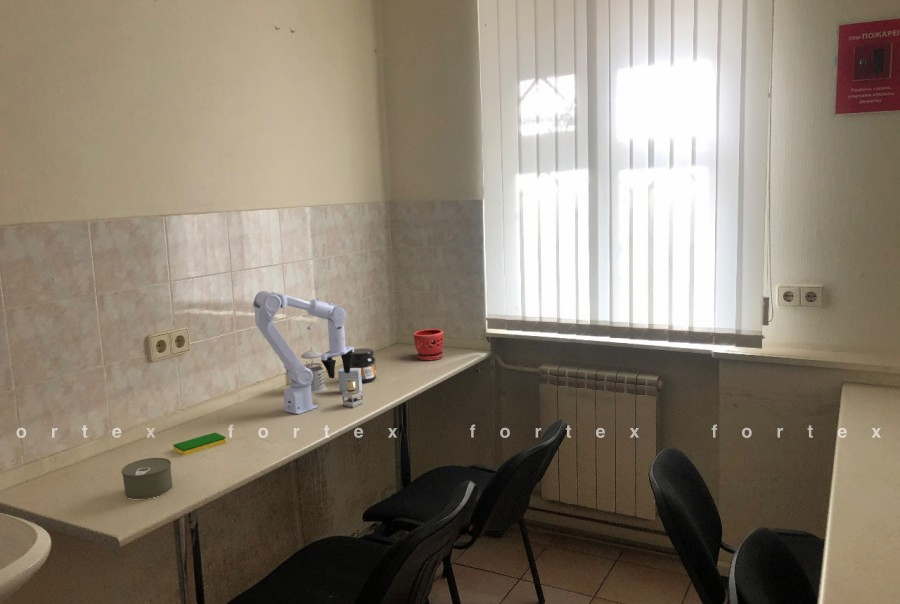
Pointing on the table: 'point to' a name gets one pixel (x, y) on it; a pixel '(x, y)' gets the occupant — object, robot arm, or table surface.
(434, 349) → the plant pot
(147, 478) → the can
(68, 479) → the table surface
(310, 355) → the french press
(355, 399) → the gold domed cylinder
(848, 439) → the table surface
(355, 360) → the supplement container
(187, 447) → the dish sponge
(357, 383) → the medicine box
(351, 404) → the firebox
